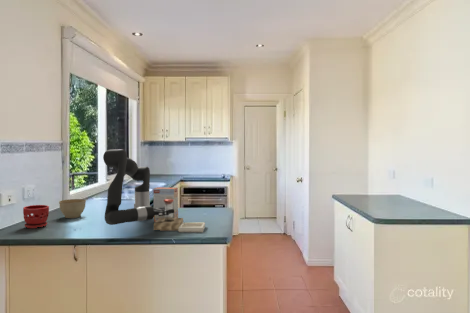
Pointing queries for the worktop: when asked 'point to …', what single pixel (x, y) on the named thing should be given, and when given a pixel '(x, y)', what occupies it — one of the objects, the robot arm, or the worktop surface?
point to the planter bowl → (72, 207)
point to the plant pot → (36, 215)
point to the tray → (192, 227)
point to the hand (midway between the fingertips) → (170, 209)
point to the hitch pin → (167, 207)
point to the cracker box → (165, 194)
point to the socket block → (168, 224)
